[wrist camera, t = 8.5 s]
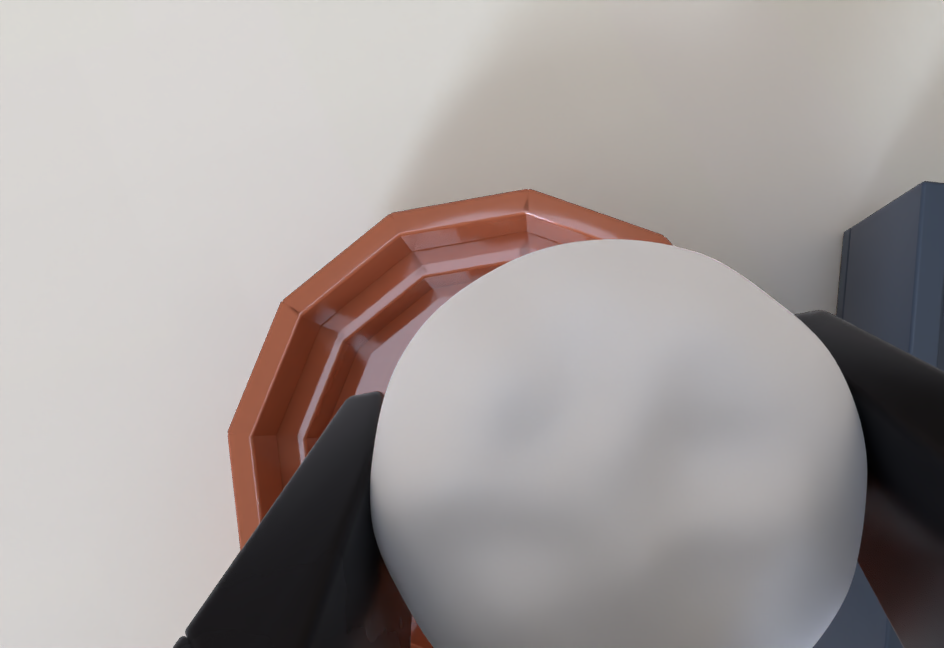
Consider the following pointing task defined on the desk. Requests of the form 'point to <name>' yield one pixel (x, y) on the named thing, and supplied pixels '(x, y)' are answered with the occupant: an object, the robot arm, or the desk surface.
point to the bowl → (379, 324)
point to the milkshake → (618, 460)
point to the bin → (891, 341)
